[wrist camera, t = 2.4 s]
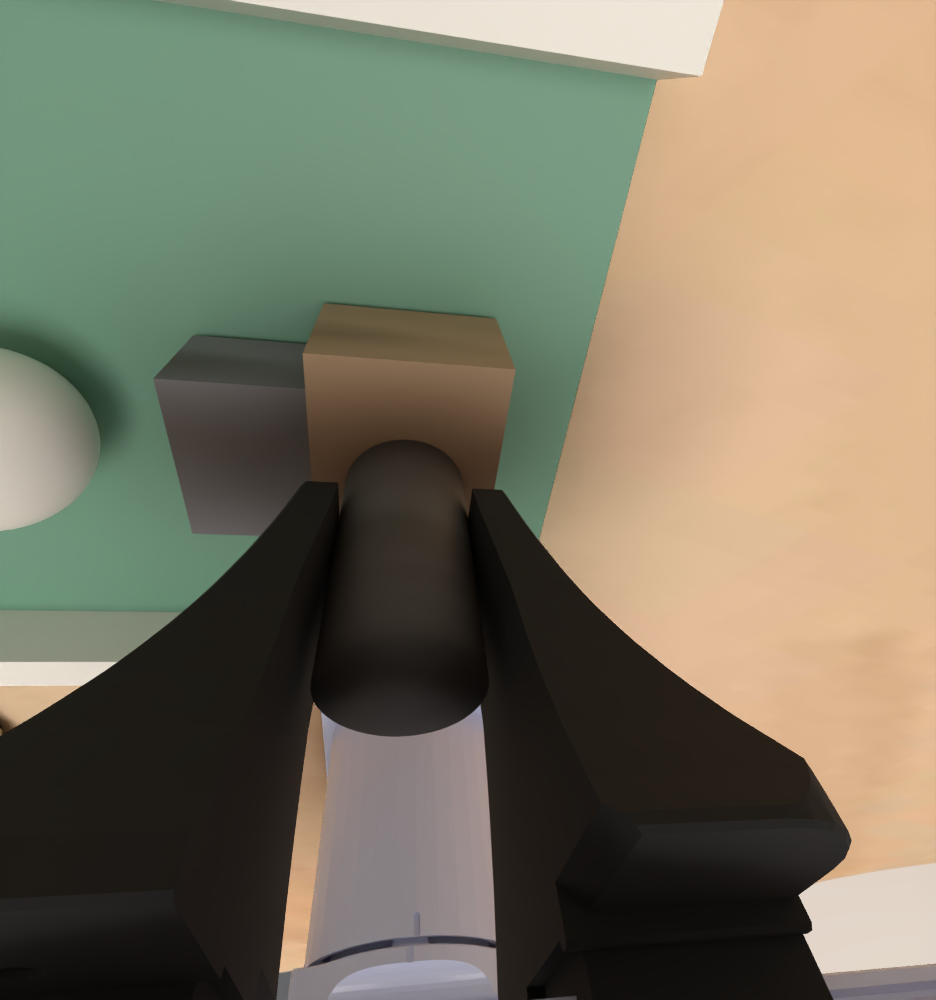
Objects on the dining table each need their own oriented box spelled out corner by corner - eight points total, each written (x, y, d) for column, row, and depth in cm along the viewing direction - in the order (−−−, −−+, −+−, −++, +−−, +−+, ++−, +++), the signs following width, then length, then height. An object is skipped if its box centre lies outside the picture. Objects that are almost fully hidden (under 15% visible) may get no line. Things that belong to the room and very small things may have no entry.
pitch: (510, 616, 21) (522, 682, 19) (-262, 607, 18) (-368, 688, 15) (658, 3, 10) (730, -24, 8) (-1232, -335, 7) (-2103, -565, 4)
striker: (467, 515, 16) (503, 783, 10) (226, 505, 15) (94, 796, 9) (496, 318, 13) (580, 539, 6) (184, 290, 12) (-86, 518, 5)
